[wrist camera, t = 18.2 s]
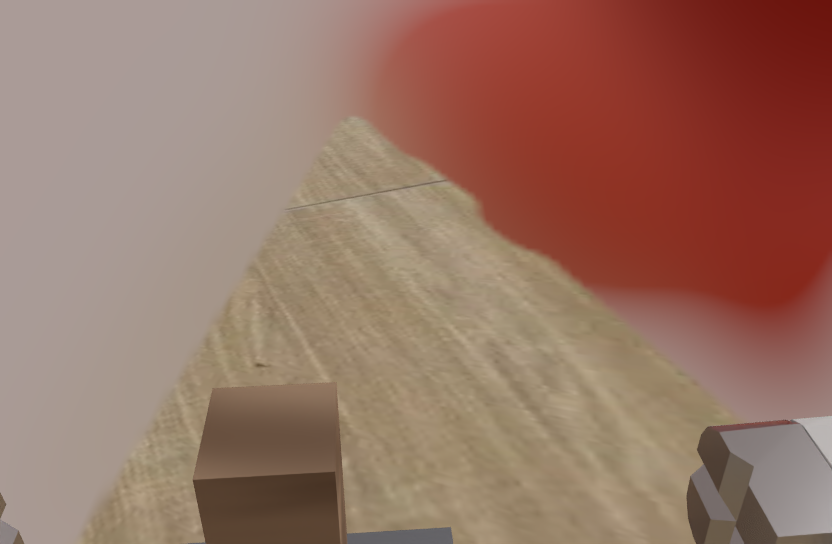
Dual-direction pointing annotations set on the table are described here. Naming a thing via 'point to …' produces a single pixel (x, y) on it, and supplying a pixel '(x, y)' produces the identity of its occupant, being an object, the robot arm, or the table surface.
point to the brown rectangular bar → (272, 466)
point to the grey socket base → (401, 537)
